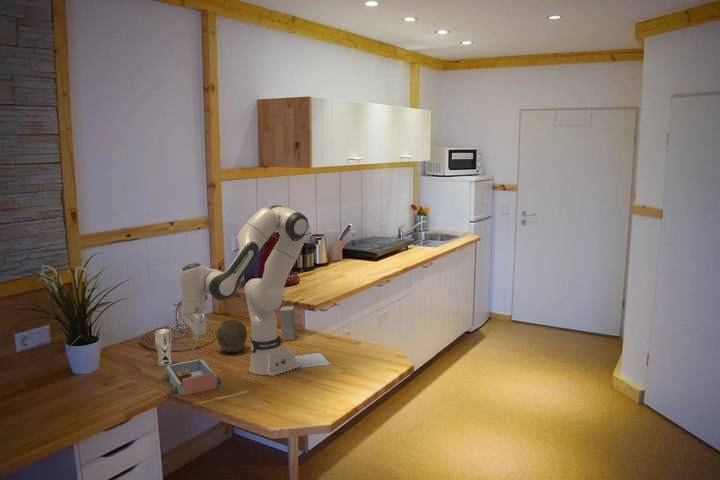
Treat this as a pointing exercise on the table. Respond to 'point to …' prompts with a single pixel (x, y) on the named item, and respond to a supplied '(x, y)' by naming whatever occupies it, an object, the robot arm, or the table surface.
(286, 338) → the skincare box
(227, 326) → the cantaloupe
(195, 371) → the flatbed
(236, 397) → the table surface
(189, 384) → the tailgate
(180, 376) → the brown small block
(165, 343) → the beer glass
